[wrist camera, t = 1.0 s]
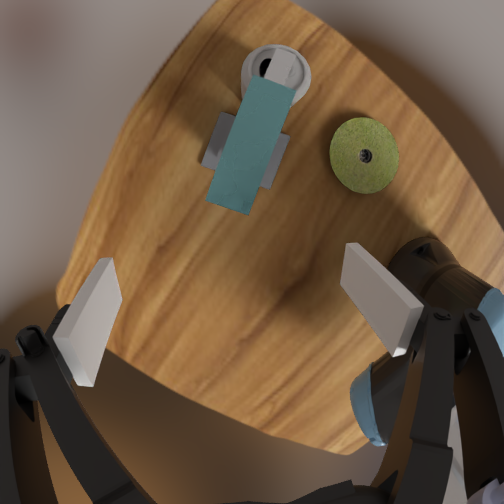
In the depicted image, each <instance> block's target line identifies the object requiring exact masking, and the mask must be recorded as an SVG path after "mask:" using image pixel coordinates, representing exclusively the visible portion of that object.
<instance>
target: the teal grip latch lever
mask: <svg viewBox="0 0 504 504" xmlns="http://www.w3.org/2000/svg"><path fill="white" fill-rule="evenodd" d="M295 58H296V55H295V54H292V53H290V52H287V51H284V50H282V49H279V48H276V51H275V53H274V55H273V57H272V60H271V62H270V64H269V67H268V69H267V71H266V74H265V76H264V78H262V77H259V76H256V75H253V76H252V79H251V81H250V83H249V86H248V88H247V91H246V93H245V95H244V98H243V100H242V103H241V105H240V108H239V110H238V113H237V115H236V118H235V120H234V123H233V125H232V128H231V131H230V133H229V136H228V138H227V141H226V144H225V146H224V149H223V152H222V155H221V157H220V160H219V163H218V165H217V168H216V171H215V174H214V177H213V180H212V182H211V185H210V188H209V191H208V194H207V197H206V200H205V201H208V202H211V203H214V204H217V205H220V206H223V207H226V208H228V209H231V210H234V211H237V212H240V213H243V214H246V215H249V212H250V210H251V207H252V204H253V202H254V199H255V197H256V194H257V191H258V189H259V186H260V183H261V181H262V178H263V176H264V173H265V170H266V168H267V165H268V163H269V160H270V157H271V155H272V152H273V150H274V147H275V145H276V142H277V139H278V137H279V134H280V132H281V129H282V127H283V124H284V122H285V119H286V116H287V114H288V111H289V109H290V106H291V104H292V101H293V99H294V96H295V94H296V90H294V89H291V88H289V87H286V86H284V84H285V82H286V79H287V77H288V74H289V72H290V70H291V67H292V65H293V62H294V60H295Z"/></svg>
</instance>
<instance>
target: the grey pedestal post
mask: <svg viewBox="0 0 504 504" xmlns="http://www.w3.org/2000/svg"><path fill="white" fill-rule="evenodd" d="M235 118H236V116H234V115H231V114H228V113H224V112H221V113H220V115H219V118H218V120H217V123H216V125H215V128H214V131H213V133H212V136H211V139H210V141H209V144H208V147H207V150H206V152H205V155H204V158H203V161H202V164H201V166H203V167H206V168H209V169H212V170H215V171H216V168H217V165H218V163H219V160H220V157H221V155H222V152H223V149H224V146H225V144H226V141H227V138H228V136H229V133H230V131H231V128H232V125H233V123H234V120H235ZM289 139H290V136H288V135H286V134H283V133H281V132H280V134H279V137H278V139H277V142H276V145H275V147H274V150H273V152H272V155H271V157H270V160H269V163H268V165H267V168H266V170H265V173H264V176H263V178H262V181H261V183H260V186H261V187H264V188H266V189H269V190H270V188H271V185H272V183H273V180H274V178H275V175H276V172H277V170H278V167H279V165H280V162H281V160H282V157H283V154H284V152H285V149H286V147H287V144H288V142H289Z"/></svg>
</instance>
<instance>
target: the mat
mask: <svg viewBox="0 0 504 504" xmlns="http://www.w3.org/2000/svg"><path fill="white" fill-rule="evenodd" d="M398 153H399V152H398V147H397V145H396V142H395V139H394V137H393V136H392V134H391V133H390V131H389V130H388V129H387V128H386V127H385V126H384V125H382V124H381V123H379V122H378V121H376V120H373V119H370V118H365V117H360V118H353V119H350V120H348V121H346V122H345V123H343V124H342V125H341V126H340V127H339V128H338V129H337V131H336V132H335V134H334V136H333V138H332V141H331V145H330V161H331V165H332V168H333V171H334V173H335V175H336V176H337V178H338V179H339V180H340V182H342V184H343V185H345V186H346V187H347V188H349V189H351V190H352V191H354V192H358V193H363V194H369V193H370V194H371V193H375V192H378V191H380V190H382V189H384V188H385V187H386V186H387V185H388V184H389V183H390V182H391V181H392V179H393V178H394V176H395V174H396V172H397V168H398V162H399V154H398Z"/></svg>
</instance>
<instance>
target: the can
mask: <svg viewBox="0 0 504 504" xmlns="http://www.w3.org/2000/svg"><path fill="white" fill-rule="evenodd" d="M276 48H279V49H282V50H284V51H287V52H290V53H292V54H295V55H296V58H295V60H294V62H293V65H292V67H291V70H290V72H289V74H288V77H287V79H286V82H285V84H284V86H286V87H289V88H291V89H294V90H296V94H295V96H294V99H293V101H292V104H291V106H290V108H291V107H292V106H293V105H294V104H295V103H296V102H297V101H298V100H299V99H300V98H302V97H303V96H304V95H305V93H306V91H307V90H308V88H309V86H310V82H311V72H310V67H309V65H308V63H307V62H306V60H305V58H304V57H303V56H302V55H301V54H300V53H299V52H297V51H296V50H294V49H292V48H290V47H288V46H284V45H280V44H270V45H265V46H262V47H259V48H256V49H255V50H254V51H252V52H251V53H250V54H249V55H248V56H247V58H246V59H245V61H244V62H243V66H242V70H241V94H242V99H243V98H244V95H245V93H246V91H247V88H248V86H249V83H250V81H251V79H252V76H253V75H256V76H259V77H262V78H264V76H265V74H266V71H267V69H268V67H269V64H270V62H271V60H272V57H273V55H274V53H275V51H276Z"/></svg>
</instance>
